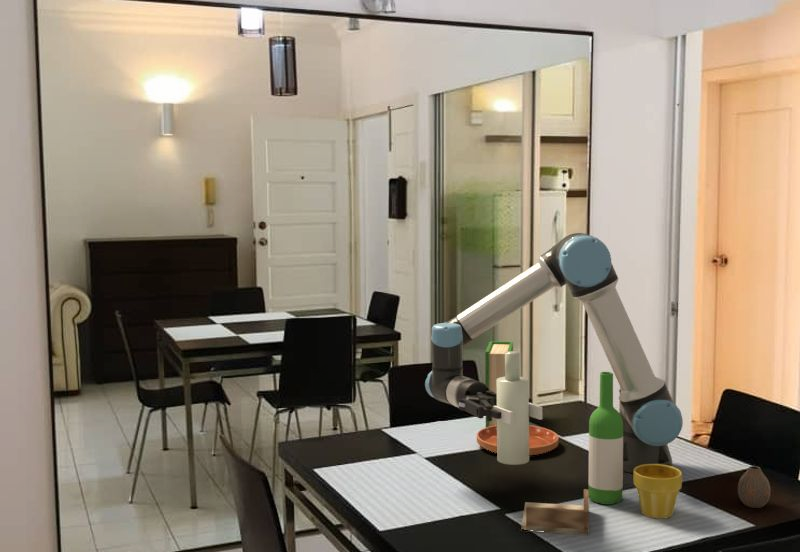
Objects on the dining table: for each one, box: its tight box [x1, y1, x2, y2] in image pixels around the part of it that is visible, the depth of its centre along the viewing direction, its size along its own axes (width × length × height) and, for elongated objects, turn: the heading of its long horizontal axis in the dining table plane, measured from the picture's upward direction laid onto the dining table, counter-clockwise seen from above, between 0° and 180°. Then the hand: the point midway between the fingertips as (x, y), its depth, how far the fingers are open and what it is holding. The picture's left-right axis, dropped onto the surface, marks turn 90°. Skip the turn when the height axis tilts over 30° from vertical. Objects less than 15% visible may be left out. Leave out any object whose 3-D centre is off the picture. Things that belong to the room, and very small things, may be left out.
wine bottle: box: [588, 371, 624, 505], centre depth 204 cm, size 8×8×30 cm
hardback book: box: [484, 341, 514, 428], centre depth 272 cm, size 18×7×24 cm, turn 170°
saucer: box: [476, 424, 560, 456], centre depth 248 cm, size 23×23×4 cm
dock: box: [521, 488, 590, 536], centre depth 193 cm, size 14×14×5 cm
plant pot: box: [632, 464, 683, 519], centre depth 196 cm, size 10×10×10 cm
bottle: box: [496, 350, 530, 466], centre depth 194 cm, size 7×7×24 cm
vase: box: [737, 465, 772, 509], centre depth 201 cm, size 7×7×9 cm
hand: (526, 415), depth 190 cm, fingers closed on bottle, 7 cm apart
